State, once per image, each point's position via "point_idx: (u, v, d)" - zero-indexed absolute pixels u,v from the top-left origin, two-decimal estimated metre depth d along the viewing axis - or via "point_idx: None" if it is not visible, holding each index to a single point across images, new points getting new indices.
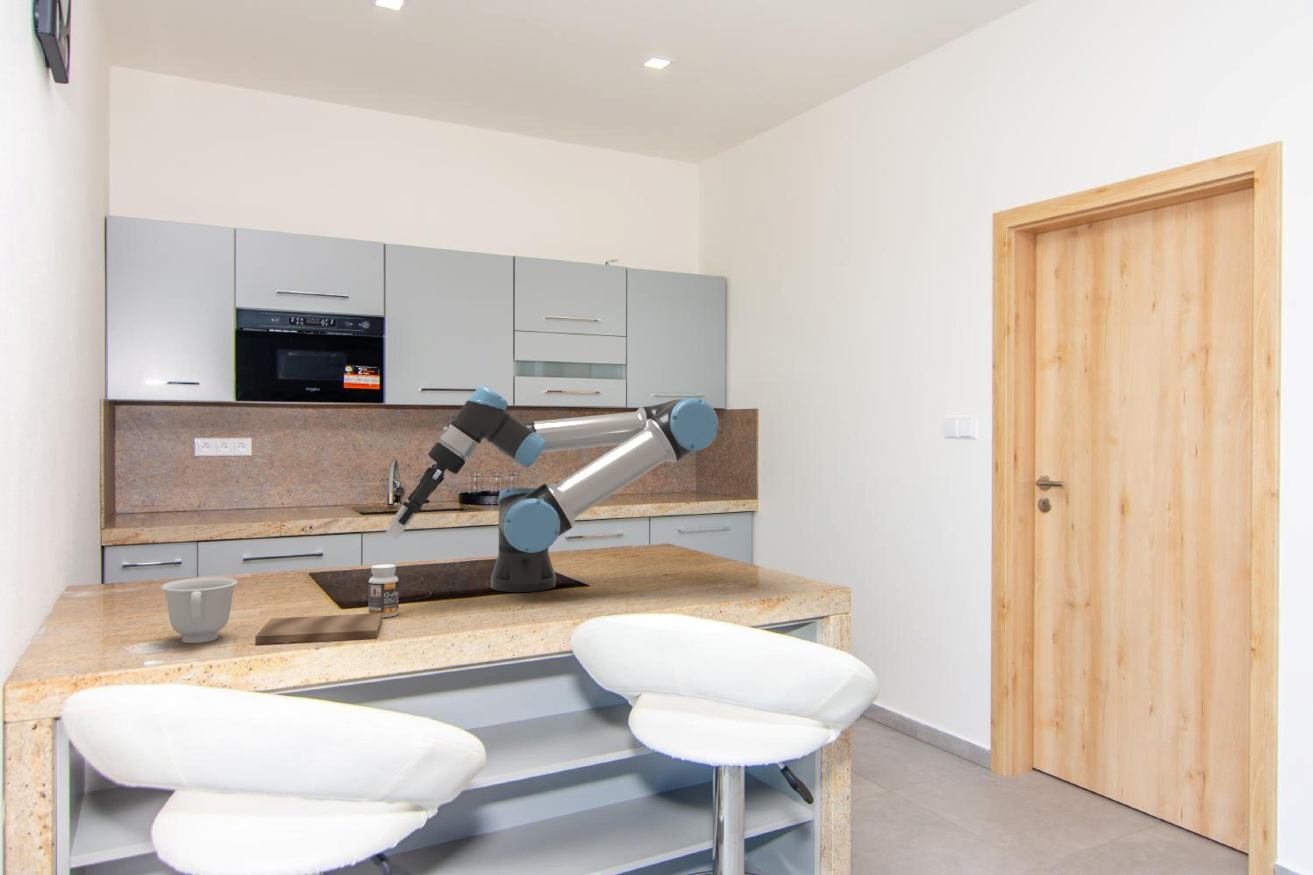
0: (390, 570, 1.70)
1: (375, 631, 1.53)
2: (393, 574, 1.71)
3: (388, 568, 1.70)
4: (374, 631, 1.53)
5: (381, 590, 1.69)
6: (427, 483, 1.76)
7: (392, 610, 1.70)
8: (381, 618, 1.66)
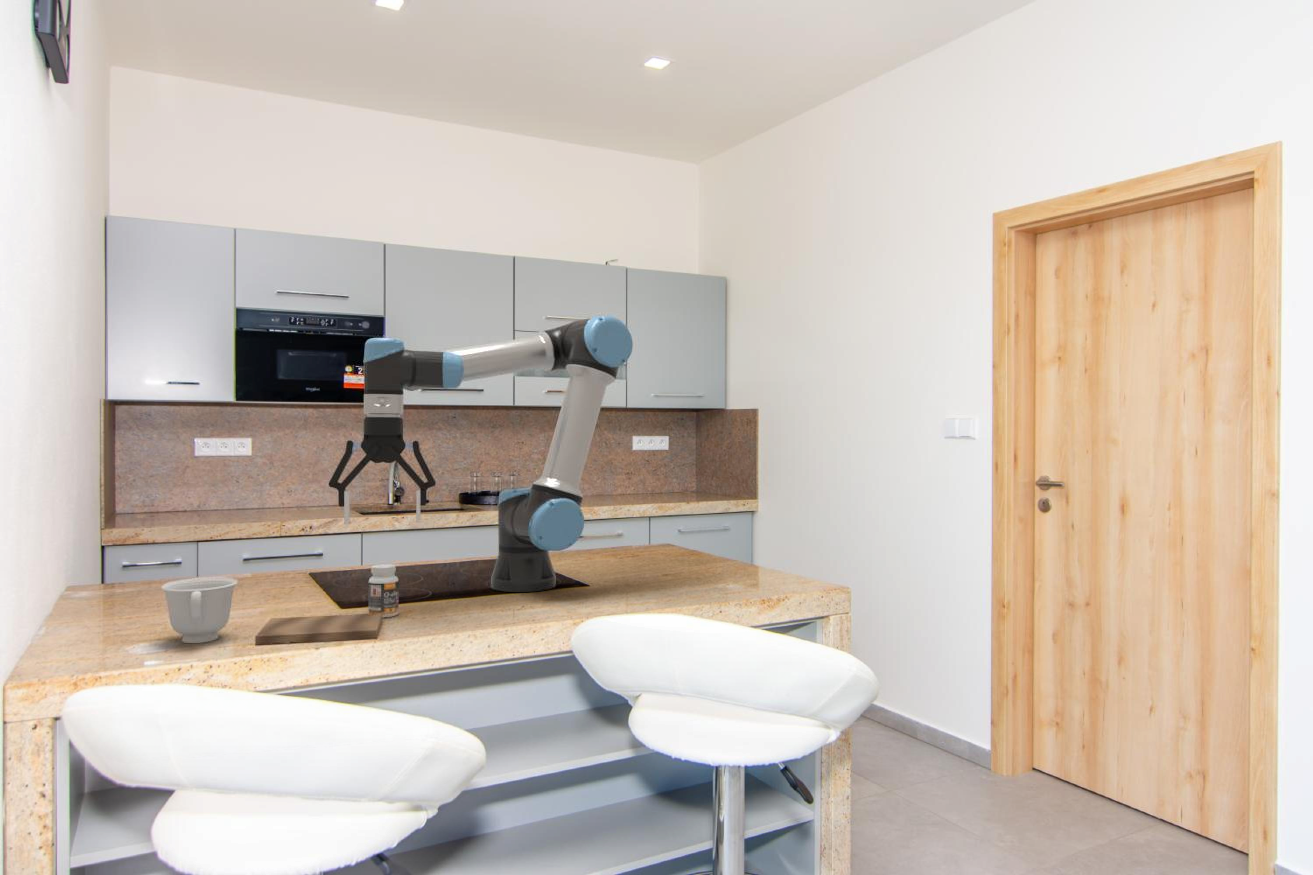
0: (390, 570, 1.70)
1: (375, 631, 1.53)
2: (393, 574, 1.71)
3: (388, 568, 1.70)
4: (374, 631, 1.53)
5: (381, 590, 1.69)
6: (423, 458, 1.73)
7: (392, 610, 1.70)
8: (381, 618, 1.66)
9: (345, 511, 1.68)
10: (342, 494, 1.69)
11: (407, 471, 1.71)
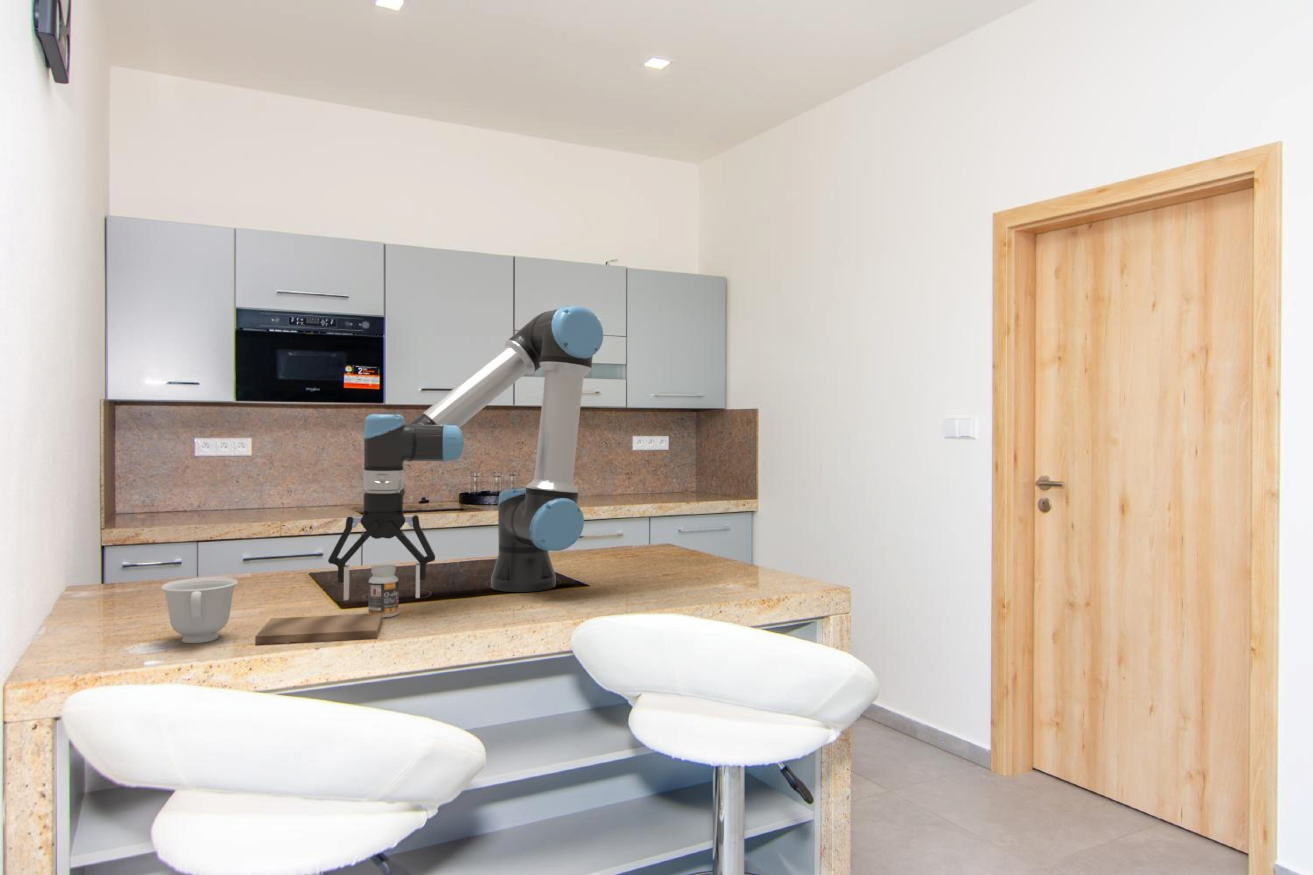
0: (390, 570, 1.70)
1: (375, 631, 1.53)
2: (393, 574, 1.71)
3: (388, 568, 1.70)
4: (374, 631, 1.53)
5: (381, 590, 1.69)
6: (422, 532, 1.73)
7: (392, 610, 1.70)
8: (381, 618, 1.66)
9: (345, 587, 1.68)
10: (342, 570, 1.69)
11: (407, 546, 1.71)
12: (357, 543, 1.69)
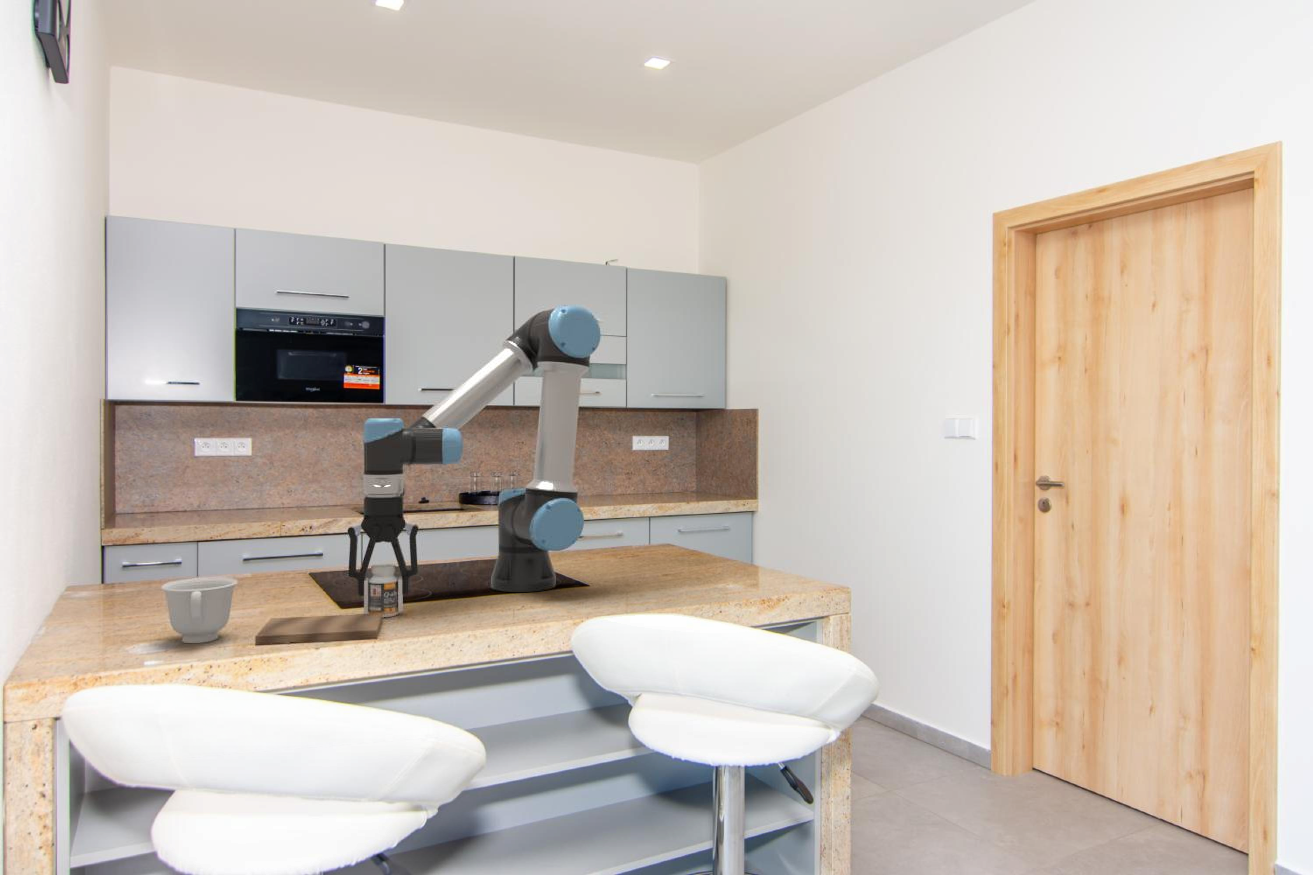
0: (390, 570, 1.70)
1: (375, 631, 1.53)
2: (393, 574, 1.71)
3: (388, 568, 1.70)
4: (374, 631, 1.53)
5: (381, 590, 1.69)
6: None
7: (392, 610, 1.70)
8: (381, 618, 1.66)
9: (365, 600, 1.70)
10: (362, 583, 1.70)
11: (396, 555, 1.71)
12: (367, 552, 1.70)
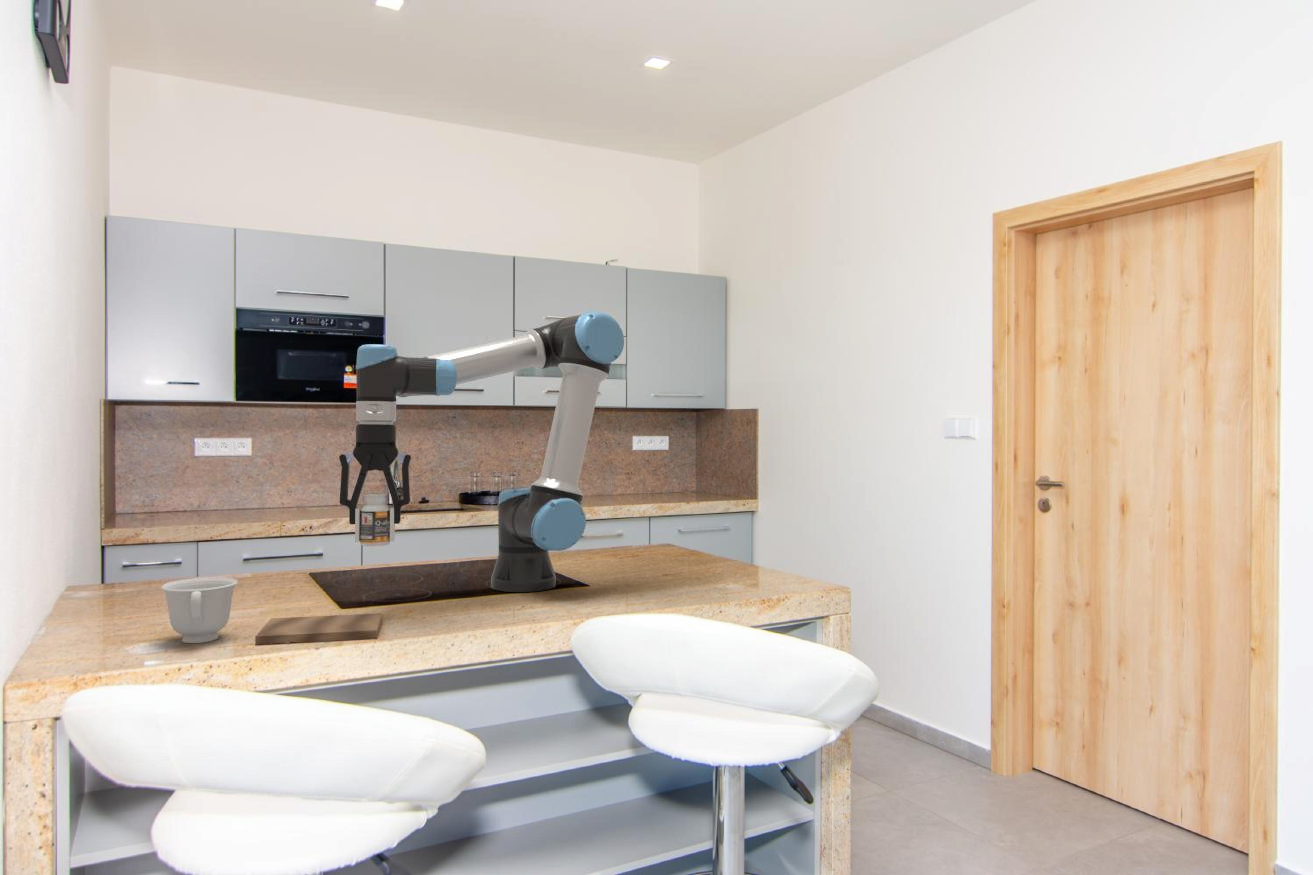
0: (382, 498, 1.68)
1: (375, 631, 1.53)
2: (385, 503, 1.69)
3: (380, 496, 1.68)
4: (374, 631, 1.53)
5: (373, 518, 1.67)
6: (408, 473, 1.71)
7: (383, 539, 1.68)
8: (381, 618, 1.66)
9: (356, 529, 1.68)
10: (353, 512, 1.68)
11: (388, 484, 1.69)
12: (359, 480, 1.68)
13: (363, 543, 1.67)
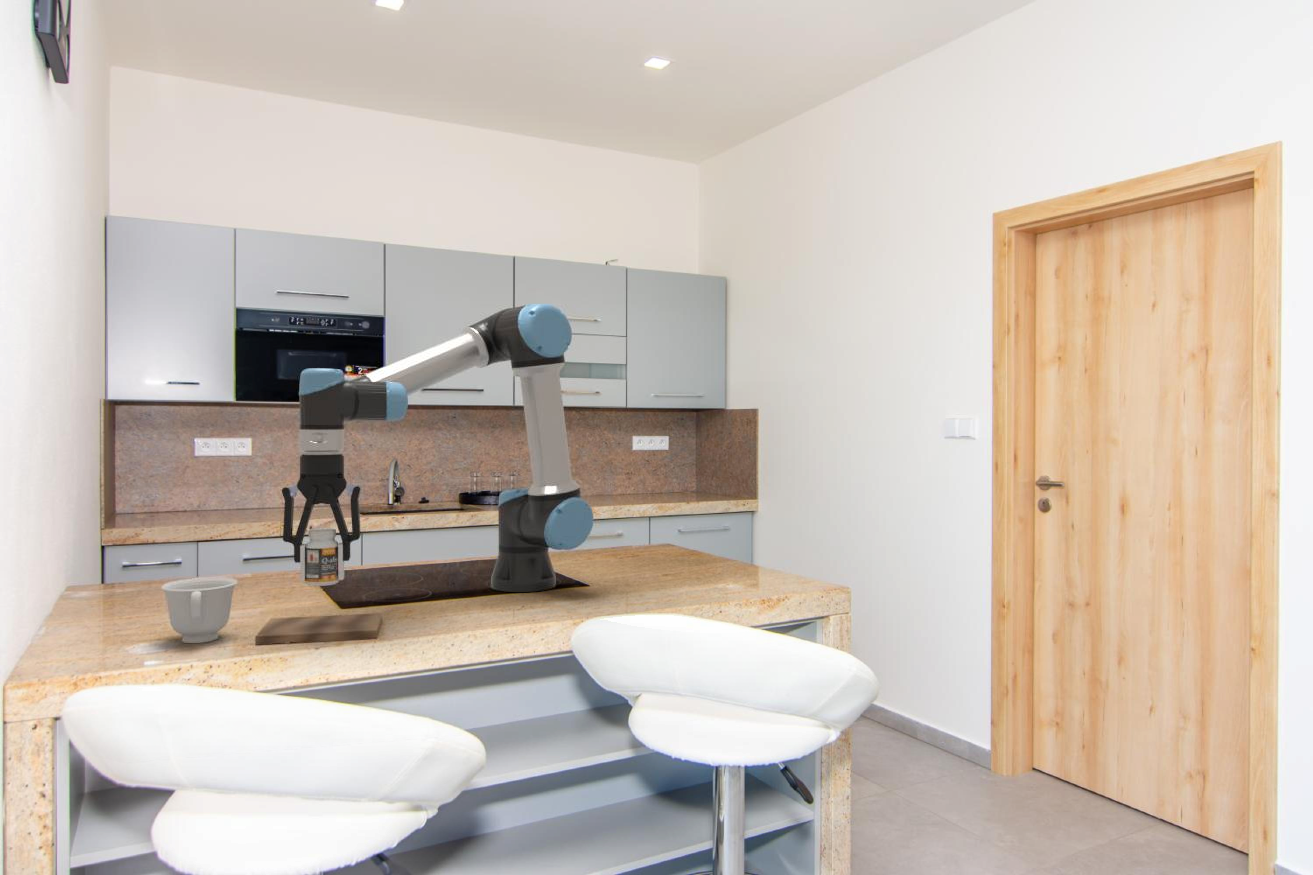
0: (329, 534, 1.56)
1: (375, 631, 1.53)
2: (333, 539, 1.57)
3: (326, 532, 1.56)
4: (374, 631, 1.53)
5: (319, 555, 1.55)
6: (358, 506, 1.58)
7: (331, 577, 1.56)
8: (381, 618, 1.66)
9: (301, 567, 1.55)
10: (298, 549, 1.56)
11: (336, 518, 1.57)
12: (304, 515, 1.55)
13: (309, 582, 1.55)
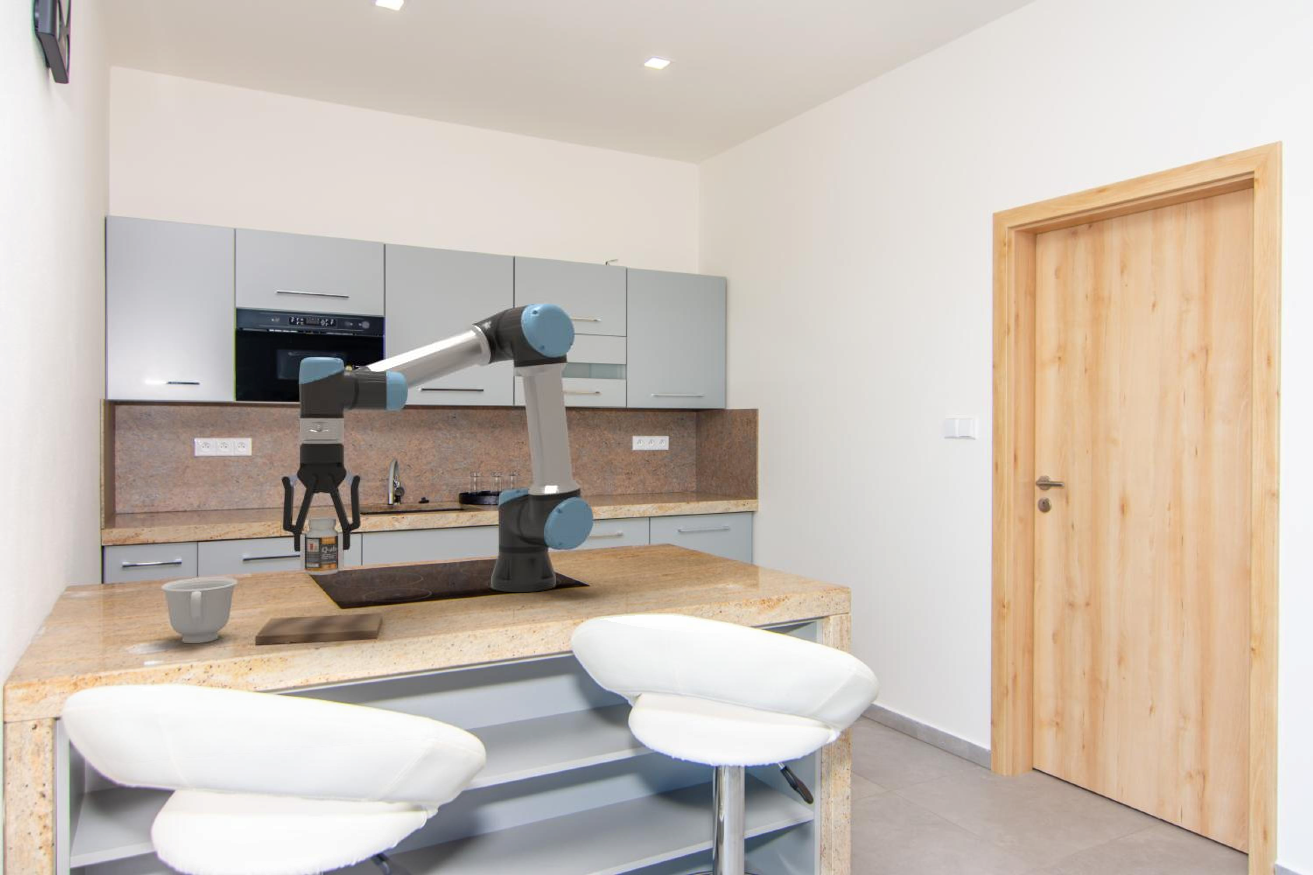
0: (329, 523, 1.56)
1: (375, 631, 1.53)
2: (332, 528, 1.57)
3: (326, 521, 1.56)
4: (374, 631, 1.53)
5: (319, 544, 1.55)
6: (358, 496, 1.58)
7: (331, 567, 1.56)
8: (381, 618, 1.66)
9: (301, 556, 1.55)
10: (298, 538, 1.56)
11: (336, 507, 1.57)
12: (304, 504, 1.55)
13: (309, 571, 1.55)
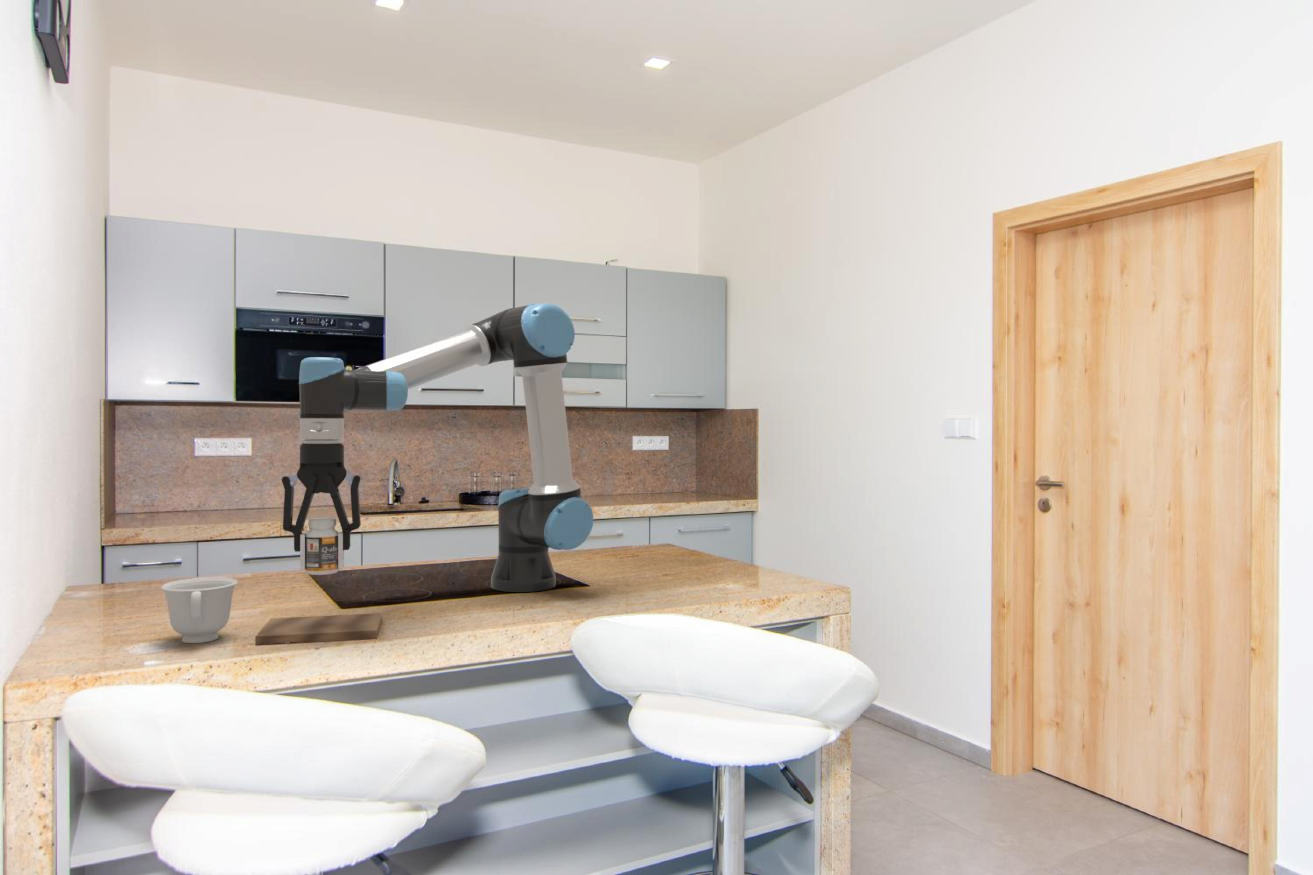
0: (329, 523, 1.56)
1: (375, 631, 1.53)
2: (332, 528, 1.57)
3: (326, 521, 1.56)
4: (374, 631, 1.53)
5: (319, 544, 1.55)
6: (358, 496, 1.58)
7: (331, 567, 1.56)
8: (381, 618, 1.66)
9: (301, 556, 1.55)
10: (298, 538, 1.56)
11: (336, 507, 1.57)
12: (304, 504, 1.55)
13: (309, 571, 1.55)
